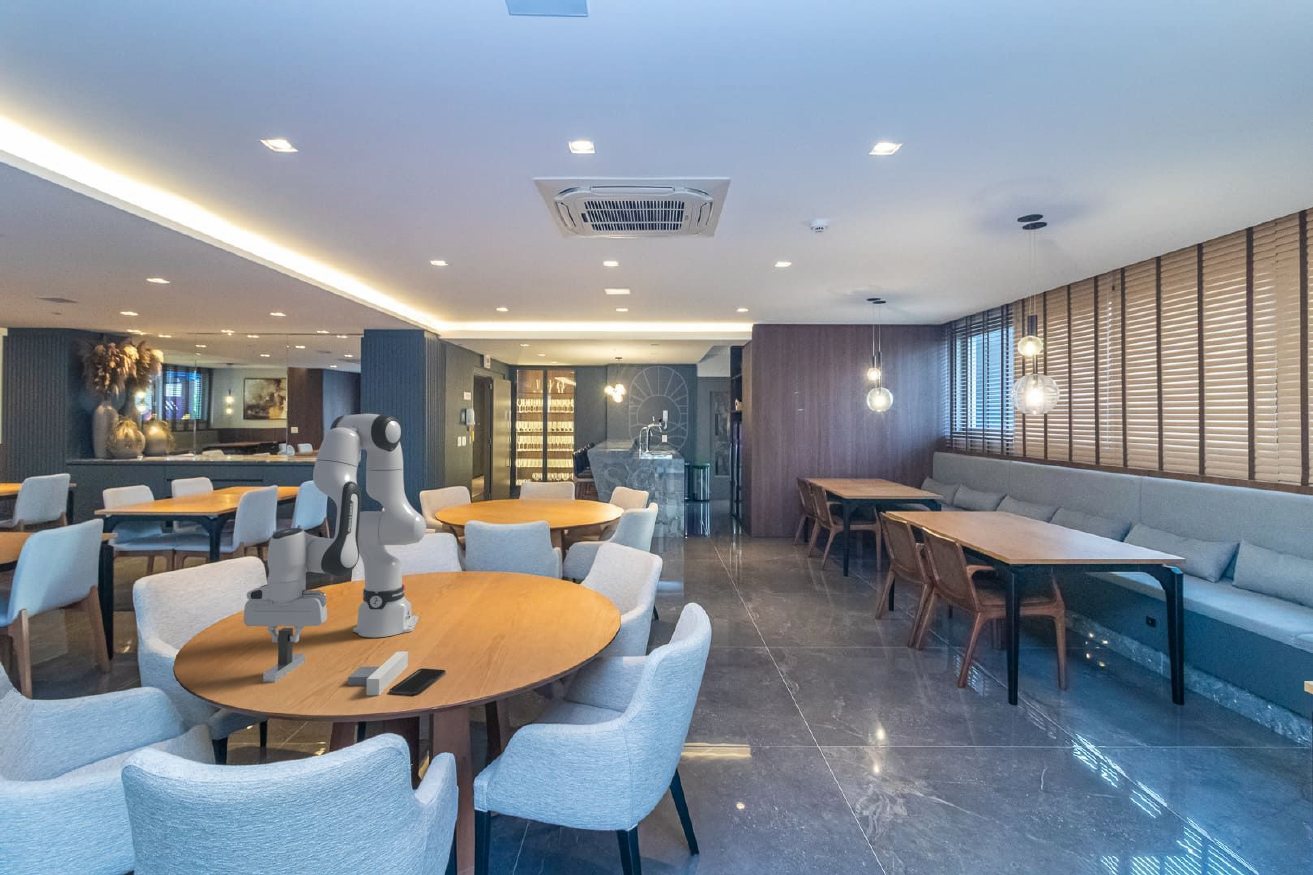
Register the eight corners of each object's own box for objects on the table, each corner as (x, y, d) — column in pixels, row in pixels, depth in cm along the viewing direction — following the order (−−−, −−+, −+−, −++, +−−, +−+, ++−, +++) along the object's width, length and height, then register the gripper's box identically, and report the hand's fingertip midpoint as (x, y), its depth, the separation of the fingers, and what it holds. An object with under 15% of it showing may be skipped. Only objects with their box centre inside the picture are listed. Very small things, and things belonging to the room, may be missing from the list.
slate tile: (359, 676, 158) (360, 666, 158) (386, 675, 159) (387, 666, 159) (347, 686, 151) (348, 676, 151) (376, 686, 152) (376, 676, 152)
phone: (387, 690, 147) (420, 667, 162) (387, 695, 147) (420, 672, 162) (417, 693, 146) (447, 669, 160) (417, 697, 146) (447, 674, 160)
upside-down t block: (293, 662, 167) (294, 621, 167) (304, 662, 167) (305, 621, 167) (263, 682, 153) (264, 637, 153) (275, 682, 153) (276, 637, 153)
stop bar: (396, 666, 165) (396, 651, 165) (407, 666, 165) (407, 651, 165) (366, 695, 146) (366, 678, 146) (378, 695, 146) (379, 678, 146)
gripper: (332, 587, 164) (331, 637, 163) (255, 587, 163) (254, 637, 163) (320, 593, 157) (319, 645, 157) (240, 593, 156) (239, 645, 156)
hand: (285, 641), depth 160 cm, fingers open, 3 cm apart
